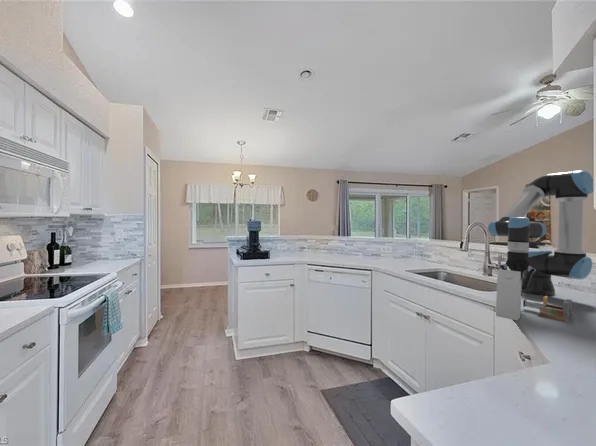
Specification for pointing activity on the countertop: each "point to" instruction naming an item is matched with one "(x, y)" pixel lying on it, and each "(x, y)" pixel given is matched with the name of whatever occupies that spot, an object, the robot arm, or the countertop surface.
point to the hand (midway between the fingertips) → (516, 303)
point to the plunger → (535, 303)
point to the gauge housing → (557, 311)
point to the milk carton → (508, 294)
